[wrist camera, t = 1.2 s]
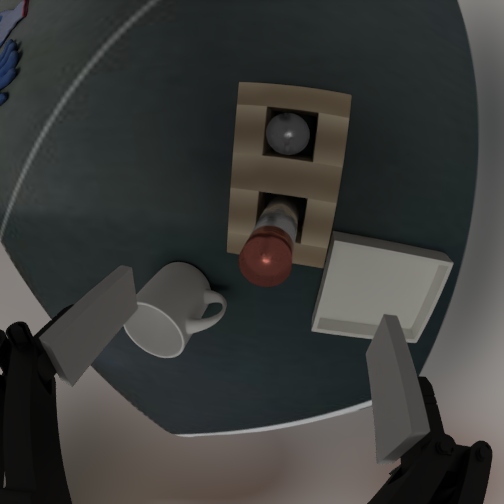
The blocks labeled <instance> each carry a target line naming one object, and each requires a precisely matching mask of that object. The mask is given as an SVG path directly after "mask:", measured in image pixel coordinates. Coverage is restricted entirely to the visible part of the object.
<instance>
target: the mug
mask: <svg viewBox="0 0 504 504" xmlns="http://www.w3.org/2000/svg"><path fill="white" fill-rule="evenodd" d="M136 299H137V305H138V309H137V310H136V312H135V313H134V314H133V315H132V316H131V317H130V318H129V320H128V321H127V322H126V323H125V324H124V325H123V326H124V328H125V330H126V332H127V334H128V335H129V337H130V338H131V339H132V340H133V341H134V342H135V343H136V344H137V345H138V346H139V347H141V348H142V349H143V350H145V351H146V352H148V353H150V354H152V355H155V356H158V357H163V358H172V357H176V356H178V355H179V354H180V353H181V352H182V351H183V349H184V347H185V346H186V344H187V342H188V340H189V339H190V337H191V335H192V333H195V332H199V331H202V330H204V329H207V328H209V327H211V326H212V325H214V324H215V323H217V322H218V321H219V320H220V319H221V317H222V316H223V314H224V313H225V310H226V306H227V303H226V300H225V298H224V297H223V296H222V295H221V294H219V293H217V292H215V291H212V290H211V288H210V285H209V282H208V280H207V279H206V277H205V276H204V274H203V273H202V272H201V271H200V270H198V269H197V268H196V267H194V266H192V265H190V264H187V263H183V262H173V263H170V264H168V265H166V266H164V267H163V268H162V269H161V270H160V271H159V272H158V273H157V274H156V275H155V276H154V277H153V278H152V279H151V280H150V281H149V282H148V283H147V284H146V285H145V286H144V287H143V288H142V289H141V290H140V291H139V292H138V294H137V295H136ZM213 302H220V303H221V304H222V305H223V309H222V311H221V312H220V313H218V314H217V315H215V316H213V317H210V318H205V319H201V317H202V315H203V314H204V312H205V310H206V308H207V306H208V304H209V303H213Z"/></svg>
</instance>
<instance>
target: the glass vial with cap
mask: <svg viewBox="0 0 504 504" xmlns="http://www.w3.org/2000/svg"><path fill="white" fill-rule="evenodd" d="M299 210H300V198H299V197H295V196H289V195H282V194H275V193H274V194H273V195H272V197H271V199H270V201H269V202H268V204H267V206H266V208H265V209H264V211H263V213H262V215H261V216H260V218H259V220H258V222H257V224H256V225H255V227H254V229H253V231H252V232H251V234H250V236H249V238H248V240H247V241H246V243H245V245H244V247H243V249H242V250H241V252H240V255H239V267H240V270H241V272H242V274H243V275H244V277H245V278H246V279H247V280H249V281H250V282H252V283H253V284H255V285H258V286H263V287H272V286H276V285H278V284H280V283H282V282H283V281H284V280H286V278H287V277H288V276H289V274H290V271H291V267H292V260H293V253H294V246H295V239H296V232H297V225H298V217H299Z"/></svg>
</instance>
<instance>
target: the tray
mask: <svg viewBox="0 0 504 504" xmlns="http://www.w3.org/2000/svg"><path fill="white" fill-rule="evenodd" d="M452 266H453V262H452V261H451V260H450V258H449V257H448V256H447V255H446V254H445V253H443V252H439V251H434V250H430V249H425V248H420V247H415V246H411V245H406V244H401V243H396V242H391V241H386V240H380V239H375V238H370V237H365V236H359V235H354V234H348V233H343V232H337V231H333V232H332V236H331V241H330V246H329V250H328V255H327V259H326V264H325V268H324V272H323V276H322V280H321V284H320V289H319V292H318V296H317V300H316V304H315V308H314V312H313V315H312V330H311V331H314V332H321V333H328V334H335V335H343V336H351V337H359V338H368V339H373V337H374V335H375V333H376V331H377V329H378V326H379V324H380V322H381V319H382V317H383V314H388V315H396V316H397V317H398V319H399V322H400V325H401V328H402V331H403V333H404V336H405V339H406V342H410V343H417V341H418V339H419V337H420V335H421V333H422V332H423V330H424V328H425V326H426V324H427V322H428V320H429V318H430V316H431V314H432V312H433V310H434V308H435V306H436V303H437V301H438V299H439V297H440V295H441V292H442V290H443V288H444V285H445V283H446V281H447V278H448V276H449V273H450V271H451V268H452Z"/></svg>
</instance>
